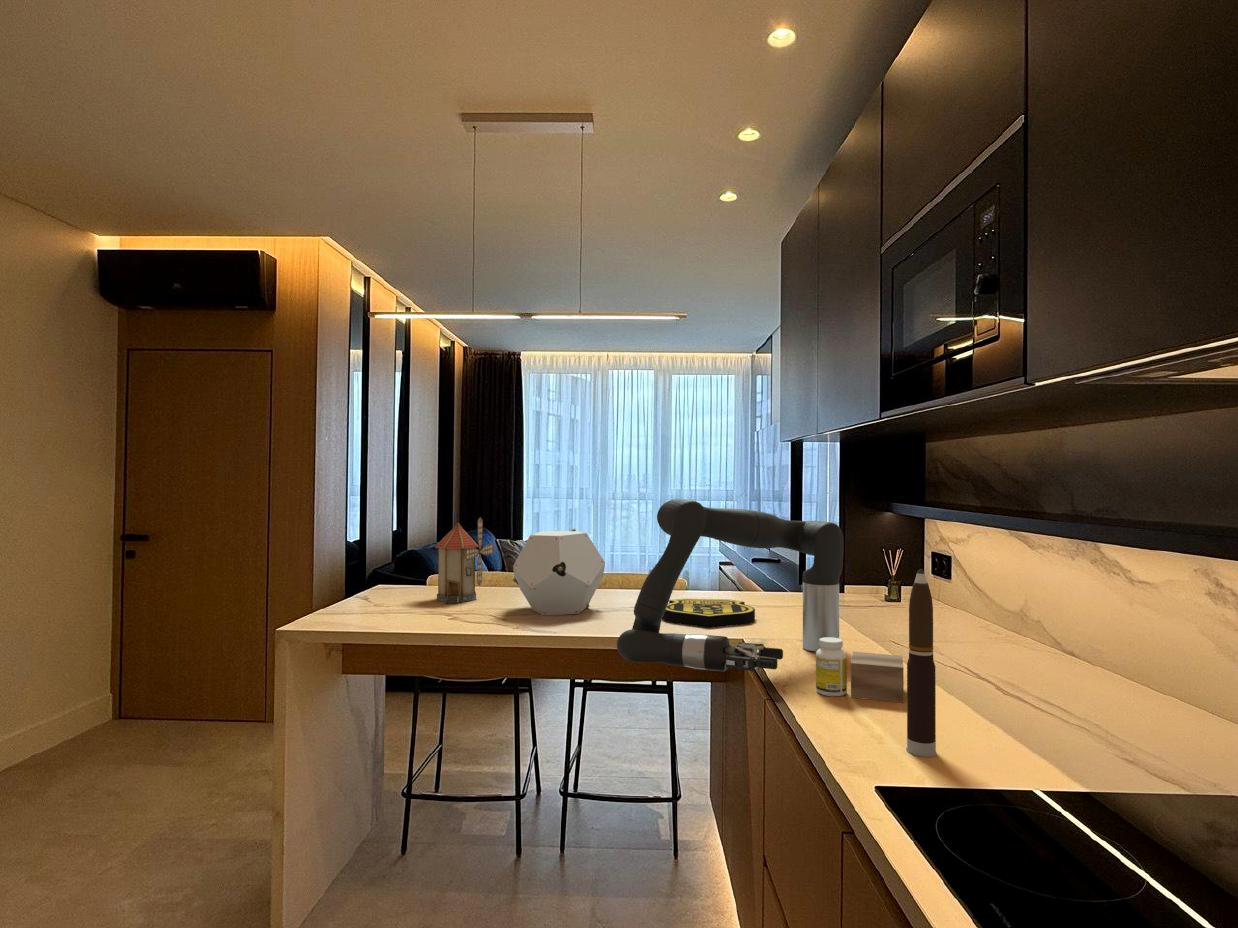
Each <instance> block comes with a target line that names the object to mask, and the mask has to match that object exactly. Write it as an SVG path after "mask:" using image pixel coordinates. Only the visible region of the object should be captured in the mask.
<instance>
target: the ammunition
mask: <svg viewBox="0 0 1238 928" xmlns="http://www.w3.org/2000/svg"><path fill="white" fill-rule="evenodd" d="M933 605H934V604H933V597H932V593H931V589H930V585H929V583H928V580H927V577H926V573H925V570H924V569H922V568H919V569H918V570H917V572H916V576H915V579H914V582H913V584H912V587H911V590H910V596H909V601H908V643H909V644H908V659H907V663H906V717H907V718H906V752H908V754H910V755H913V756H915V757H921V758H933V757H936V755H937V748H936V746H937V744H936V743H937V741H936V740H937V739H936V737H937V735H936V731H937V729H936V727H937V725H936V717H937V716H936V705H937V704H936V702H937V701H936V692H937V691H936V685H937V684H936V664H935V661H934V606H933Z"/></svg>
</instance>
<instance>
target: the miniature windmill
mask: <svg viewBox="0 0 1238 928" xmlns="http://www.w3.org/2000/svg"><path fill="white" fill-rule="evenodd" d="M483 527H484V523H483V519H482V517H481V516H479V518H478V519H477V542H475V540H474V539H473V538H472V537H471V536H470V534H468V532H466V530H465V529H464V528H463V526H462V525H461V524H460V522H457V523H455V525H454V527H453V528H452V529H451V530H450V531H449V532H448V533H446V535H445V536H444V537H443V538H442V539H441V540H440V541H438V543H437V544H436V545H435V546H434V547H435V548H437V549H438V563H437V565H438V567H437V568H438V574H437V577H438V579H437V580H438V583H437V584H438V585H437V587H438V588H437V590H438V593H437V594H436V600H437V601H438V602H442V603H445V605H447V604H448V605H449V604H451V605H452V604H453V605H458V604H459V603H463V602H469V601H475V600H477V592H476V584H477V585H478V586H479V587H481V584H482V582H483V562H482V555H483V556H490V555H493V554H494V550H495V547H494V543H492V542H491V543H488V544H486V545H484V546H483V547H482V545H483V544H482V543H483V534H484V532H483V531H484V530H483V529H484V528H483ZM476 557H478V558H477V566H476ZM476 568H477V569H476Z"/></svg>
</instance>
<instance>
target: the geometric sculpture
mask: <svg viewBox="0 0 1238 928" xmlns="http://www.w3.org/2000/svg"><path fill="white" fill-rule="evenodd" d="M605 564H606V561H605V560H604V559H603V557H602V555H601V554H600V552H599V550H598V549H597V547H596V545H595V544H594V543H593V541H592V539H591V537H590V536H589V535H588V533H587V532H584V531H579V530H577V529H576V528H572V530H551V531H547V530H546V531H539V532H536V533H532V534H530V535H529V537H528V538H527V540H526V542H525V544H524V546H523V547H522V549H521V551H520V553H519V555H518V557H517V558H516V559H515V562H514V564H513V565H512V569H513V575H514V577H513V579H512V582H514V583H516V585H517V586H518V588H519V589H520V591H521V593H522V595H523V597H524V598H525V599H526V601H527V603H528V604H529V606H530V608H531V609H532V610H533V611H535V612H537V613H538V614H540V615H542V616H554V615H555V616H556V615H557V616H558V615H576V614H580V613H581V612H583V611H584V610H586V609H589V608H590V602H591V601H592V598H593V597H594V595H595V592H596V591H597V589H598V587H599V585H600V583H601V581H602V579H603V577H604V571H605Z"/></svg>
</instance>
